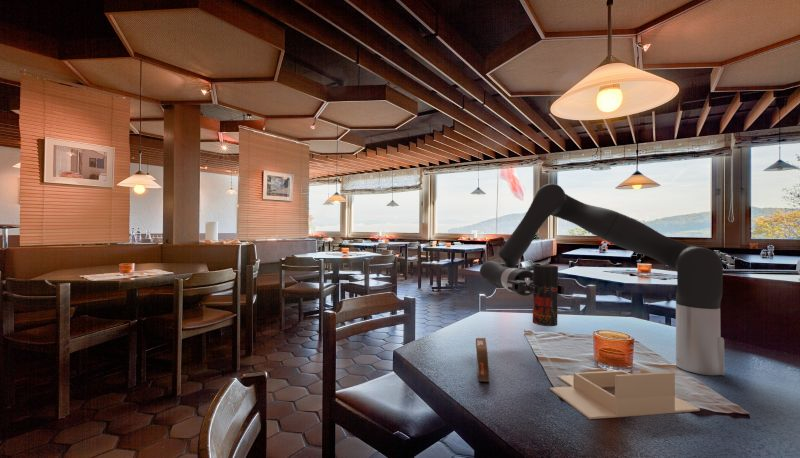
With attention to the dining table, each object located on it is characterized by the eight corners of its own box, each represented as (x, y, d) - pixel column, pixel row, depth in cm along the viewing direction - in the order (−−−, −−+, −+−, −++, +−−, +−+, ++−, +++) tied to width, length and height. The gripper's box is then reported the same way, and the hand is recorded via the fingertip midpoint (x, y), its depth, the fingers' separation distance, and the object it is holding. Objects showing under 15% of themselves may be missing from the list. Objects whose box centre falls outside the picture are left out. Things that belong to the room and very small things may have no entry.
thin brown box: (489, 388, 81) (490, 351, 81) (476, 386, 81) (476, 350, 82) (486, 364, 96) (487, 334, 96) (475, 363, 96) (475, 333, 96)
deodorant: (528, 320, 94) (529, 264, 94) (549, 320, 94) (550, 264, 94) (539, 326, 88) (540, 266, 88) (561, 326, 88) (562, 267, 88)
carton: (535, 378, 86) (536, 346, 87) (625, 374, 90) (625, 343, 91) (589, 419, 67) (589, 377, 68) (699, 410, 71) (699, 371, 72)
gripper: (496, 268, 104) (524, 275, 87) (540, 268, 106) (576, 275, 90) (495, 293, 104) (524, 305, 87) (540, 293, 106) (576, 304, 90)
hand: (550, 290), depth 89 cm, fingers closed on deodorant, 6 cm apart
